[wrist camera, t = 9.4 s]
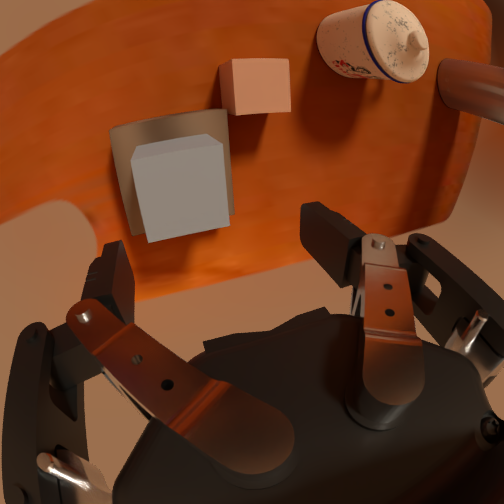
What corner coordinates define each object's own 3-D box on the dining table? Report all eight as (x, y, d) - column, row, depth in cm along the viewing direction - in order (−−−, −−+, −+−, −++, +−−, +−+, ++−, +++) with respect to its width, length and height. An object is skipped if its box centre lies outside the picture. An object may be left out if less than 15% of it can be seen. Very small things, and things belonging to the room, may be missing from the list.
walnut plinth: (216, 108, 24) (226, 109, 21) (224, 200, 30) (234, 214, 27) (115, 126, 22) (108, 130, 19) (134, 218, 27) (132, 236, 24)
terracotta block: (266, 64, 23) (288, 58, 19) (269, 108, 26) (290, 111, 22) (218, 65, 22) (231, 59, 18) (222, 112, 25) (236, 115, 21)
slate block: (206, 133, 22) (222, 144, 17) (213, 198, 25) (229, 225, 20) (136, 146, 20) (130, 160, 15) (148, 211, 24) (148, 243, 19)
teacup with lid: (316, 77, 25) (392, 79, 16) (309, 6, 20) (381, -18, 11) (391, 84, 28) (463, 96, 19) (386, 24, 23) (458, 21, 14)
